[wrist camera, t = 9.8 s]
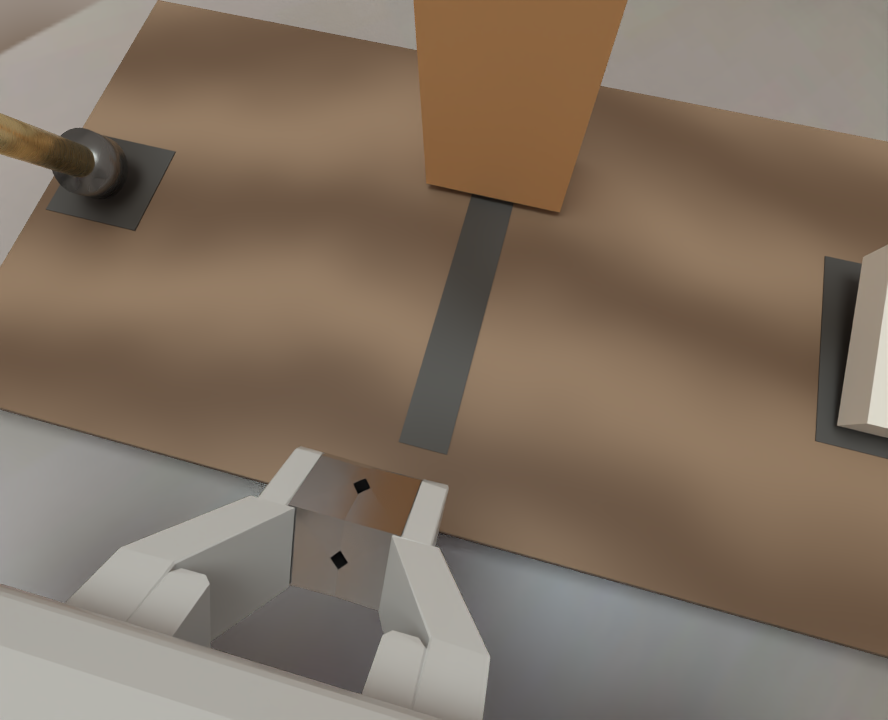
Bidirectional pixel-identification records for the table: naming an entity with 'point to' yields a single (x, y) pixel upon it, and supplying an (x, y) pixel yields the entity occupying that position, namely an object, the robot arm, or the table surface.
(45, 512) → the table surface
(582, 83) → the orange rectangular block
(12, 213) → the table surface
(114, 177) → the brass toggle lever
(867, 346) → the block
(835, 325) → the panel
